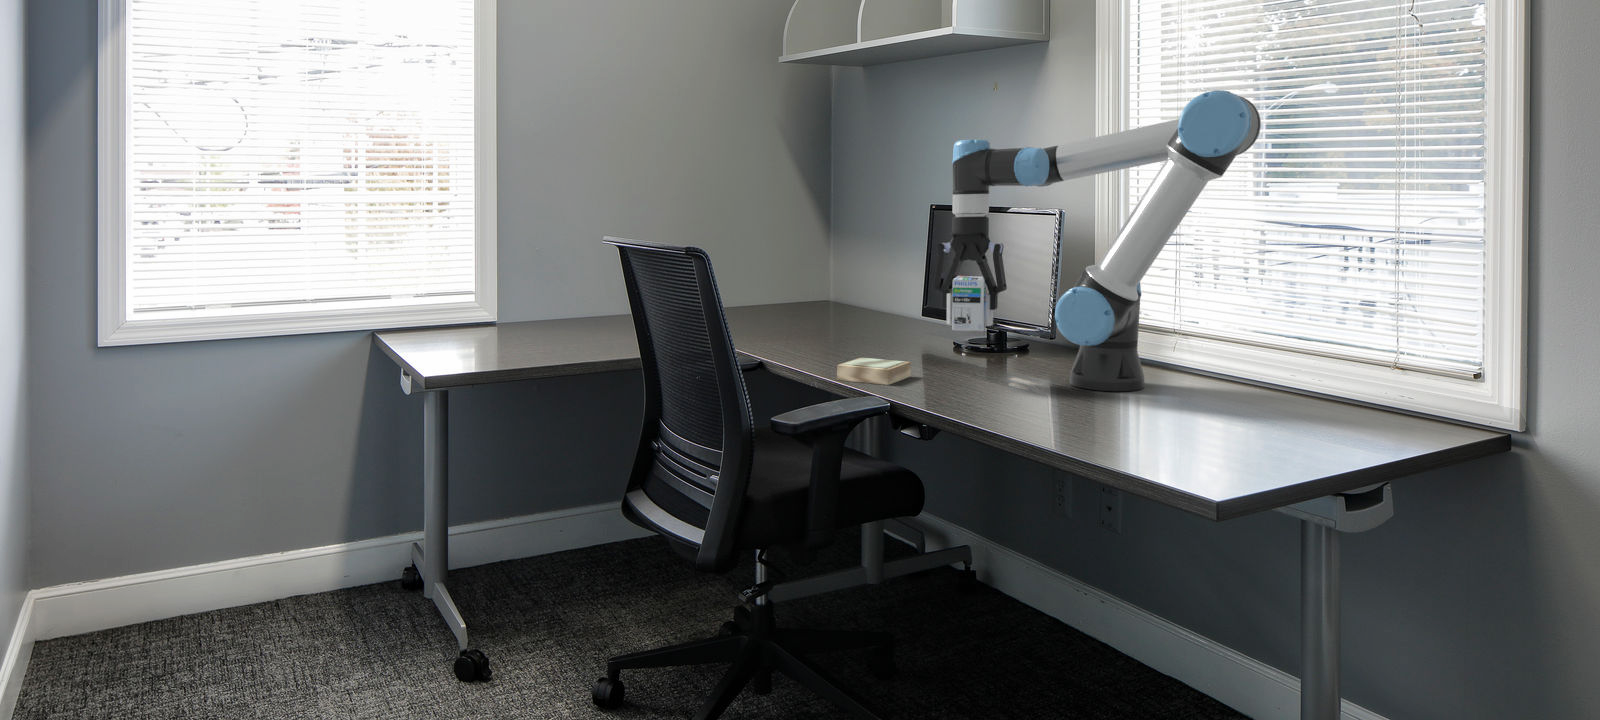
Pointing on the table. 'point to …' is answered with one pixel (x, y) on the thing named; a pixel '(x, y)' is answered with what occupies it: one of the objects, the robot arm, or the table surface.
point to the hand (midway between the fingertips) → (969, 324)
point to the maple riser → (874, 371)
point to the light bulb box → (969, 303)
